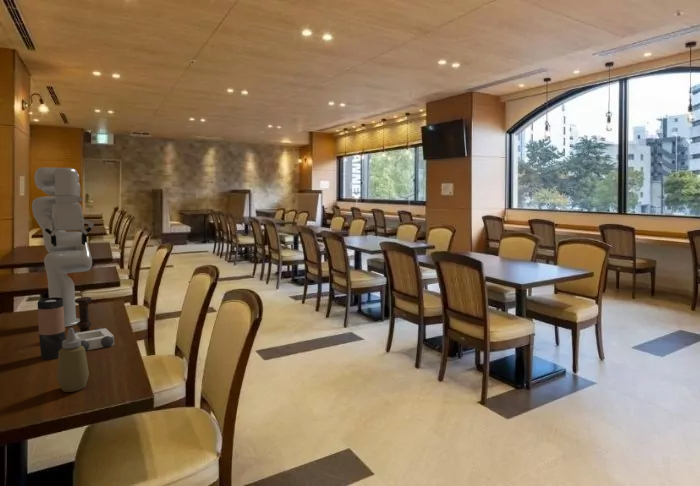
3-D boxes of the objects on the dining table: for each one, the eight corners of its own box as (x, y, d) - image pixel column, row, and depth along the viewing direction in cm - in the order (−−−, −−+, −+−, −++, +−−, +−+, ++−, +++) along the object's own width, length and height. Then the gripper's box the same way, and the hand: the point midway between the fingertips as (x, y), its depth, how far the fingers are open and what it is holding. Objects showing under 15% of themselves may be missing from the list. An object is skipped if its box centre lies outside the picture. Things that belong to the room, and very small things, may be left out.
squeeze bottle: (66, 383, 140) (63, 324, 138) (94, 382, 141) (91, 324, 139) (51, 394, 132) (48, 332, 130) (81, 394, 133) (78, 332, 131)
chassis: (67, 342, 177) (67, 332, 177) (105, 336, 185) (105, 326, 185) (75, 353, 166) (74, 342, 165) (115, 345, 174) (114, 335, 174)
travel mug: (71, 353, 165) (68, 298, 163) (51, 361, 158) (48, 303, 156) (55, 351, 168) (52, 296, 166) (35, 358, 160) (31, 301, 158)
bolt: (85, 337, 183) (83, 300, 182) (73, 336, 184) (72, 299, 183) (95, 333, 189) (94, 297, 187) (85, 332, 190) (83, 296, 188)
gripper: (90, 200, 186) (92, 243, 188) (38, 200, 175) (41, 245, 177) (94, 200, 180) (96, 244, 182) (41, 200, 169) (44, 247, 171)
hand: (69, 245), depth 180 cm, fingers open, 9 cm apart
